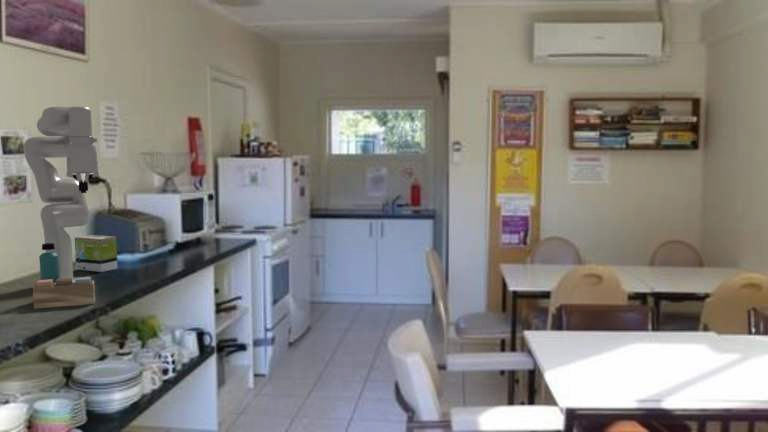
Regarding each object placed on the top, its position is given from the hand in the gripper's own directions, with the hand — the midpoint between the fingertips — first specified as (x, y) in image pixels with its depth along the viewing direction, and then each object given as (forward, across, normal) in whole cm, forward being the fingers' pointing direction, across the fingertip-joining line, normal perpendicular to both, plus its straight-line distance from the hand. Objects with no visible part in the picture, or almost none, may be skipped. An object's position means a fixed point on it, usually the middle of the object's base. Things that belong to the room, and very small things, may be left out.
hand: (83, 192), depth 252 cm
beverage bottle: (+37, +12, +4) cm, 39 cm away
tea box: (+37, 0, -58) cm, 69 cm away
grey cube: (+34, +1, +15) cm, 37 cm away
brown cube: (+34, +7, +15) cm, 37 cm away
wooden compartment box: (+37, +7, +14) cm, 40 cm away
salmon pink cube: (+34, +13, +14) cm, 39 cm away
